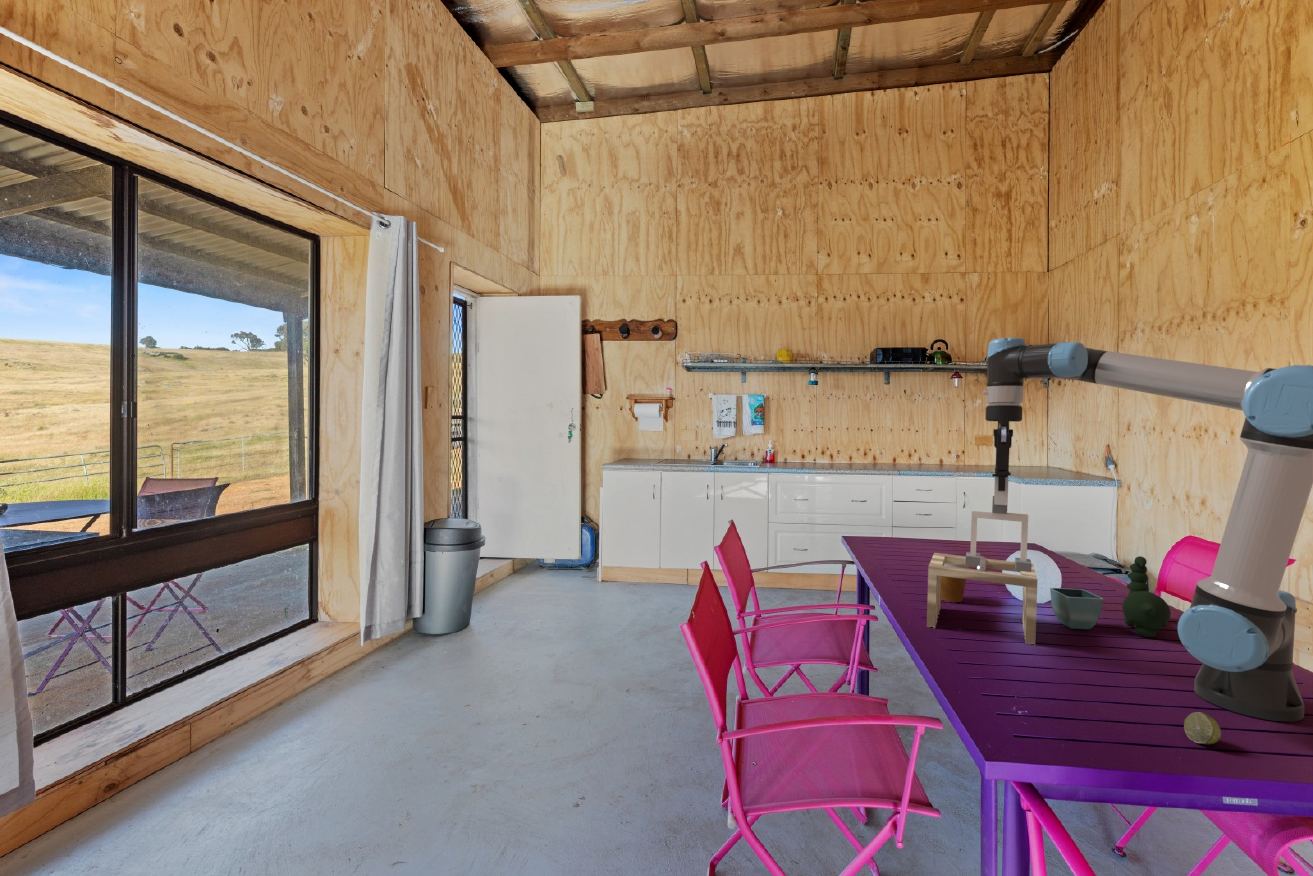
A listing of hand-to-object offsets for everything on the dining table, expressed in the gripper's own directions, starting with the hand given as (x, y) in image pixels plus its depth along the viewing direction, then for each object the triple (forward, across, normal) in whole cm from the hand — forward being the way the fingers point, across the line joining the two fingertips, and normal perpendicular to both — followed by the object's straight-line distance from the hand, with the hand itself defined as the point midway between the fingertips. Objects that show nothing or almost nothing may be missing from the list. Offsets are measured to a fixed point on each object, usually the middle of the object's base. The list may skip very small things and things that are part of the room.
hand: (1000, 503), depth 141 cm
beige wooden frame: (+35, -15, -4) cm, 38 cm away
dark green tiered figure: (+35, -34, +34) cm, 59 cm away
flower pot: (+35, -27, +19) cm, 48 cm away
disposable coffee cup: (+35, -35, -11) cm, 51 cm away
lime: (+35, +30, +30) cm, 55 cm away
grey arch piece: (+15, 0, 0) cm, 15 cm away
